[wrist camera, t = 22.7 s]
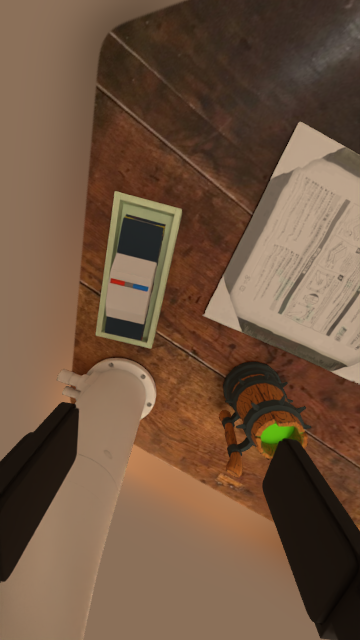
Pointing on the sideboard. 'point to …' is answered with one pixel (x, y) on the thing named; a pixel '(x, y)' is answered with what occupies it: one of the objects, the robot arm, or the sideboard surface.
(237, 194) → the sideboard surface
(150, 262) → the toy car
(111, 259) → the shallow tray
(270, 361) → the sideboard surface
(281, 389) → the mug
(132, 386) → the robot arm
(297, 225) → the picture frame
